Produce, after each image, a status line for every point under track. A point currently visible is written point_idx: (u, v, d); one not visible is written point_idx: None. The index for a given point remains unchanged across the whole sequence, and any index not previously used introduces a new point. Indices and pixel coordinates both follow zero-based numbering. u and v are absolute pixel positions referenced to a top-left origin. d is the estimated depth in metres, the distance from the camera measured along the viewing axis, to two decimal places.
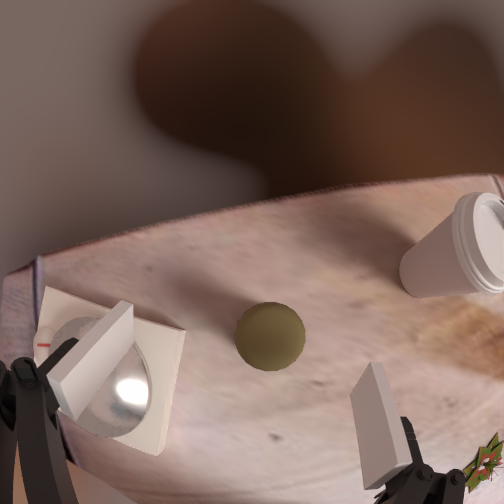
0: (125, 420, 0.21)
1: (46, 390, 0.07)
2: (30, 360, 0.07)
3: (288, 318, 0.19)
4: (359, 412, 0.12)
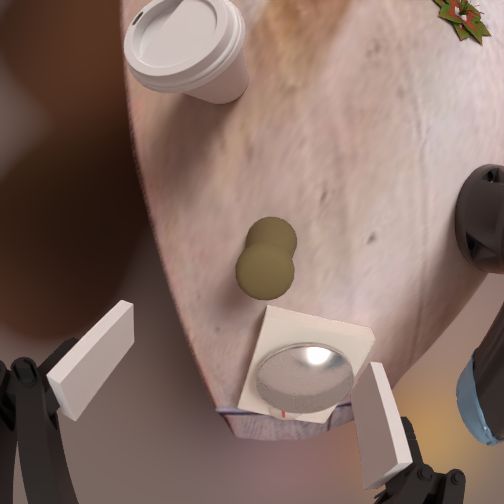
0: (338, 365, 0.31)
1: (46, 390, 0.07)
2: (30, 360, 0.07)
3: (248, 264, 0.23)
4: (359, 412, 0.12)
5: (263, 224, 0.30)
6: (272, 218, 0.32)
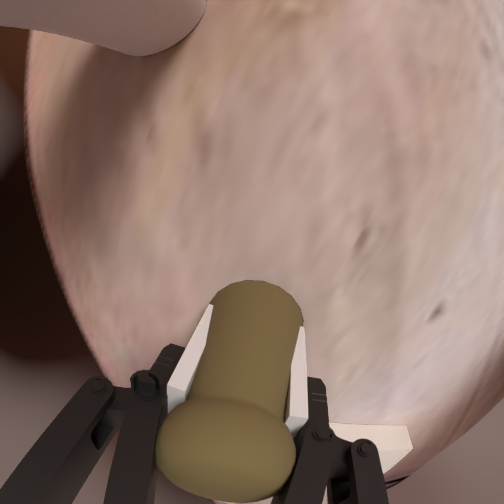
0: None
1: (163, 406, 0.09)
2: (157, 375, 0.09)
3: (173, 467, 0.06)
4: None
5: (233, 305, 0.14)
6: (254, 285, 0.15)
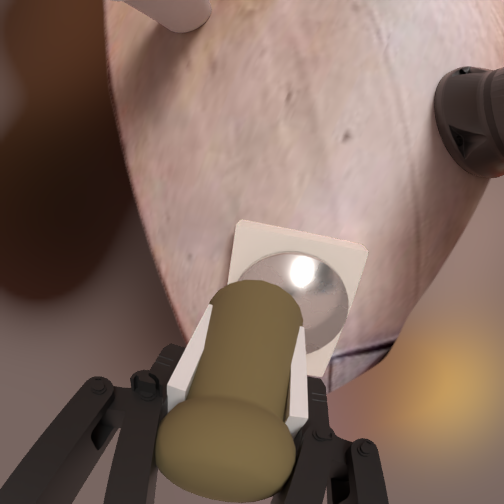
0: (326, 279, 0.28)
1: (163, 406, 0.09)
2: (157, 375, 0.09)
3: (172, 466, 0.06)
4: None
5: (232, 304, 0.14)
6: (253, 285, 0.15)
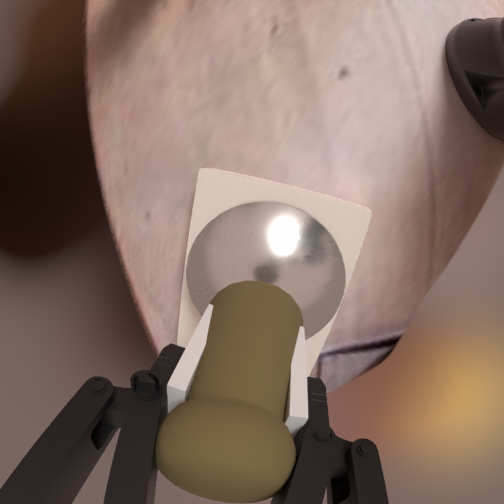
0: (315, 240, 0.20)
1: (163, 406, 0.09)
2: (156, 375, 0.09)
3: (173, 467, 0.06)
4: None
5: (232, 305, 0.14)
6: (254, 285, 0.15)
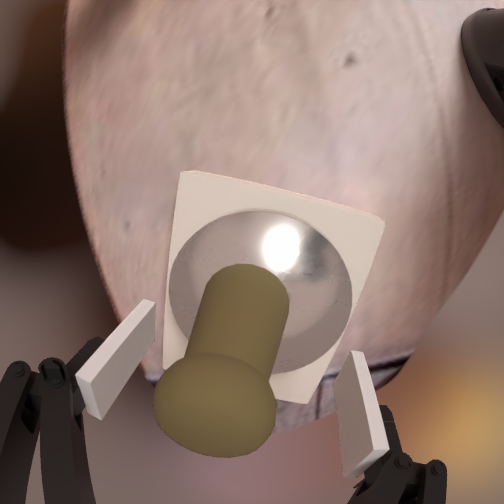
0: (317, 256, 0.17)
1: (74, 391, 0.08)
2: (60, 361, 0.08)
3: (168, 412, 0.08)
4: (340, 400, 0.13)
5: (225, 283, 0.16)
6: (244, 267, 0.17)
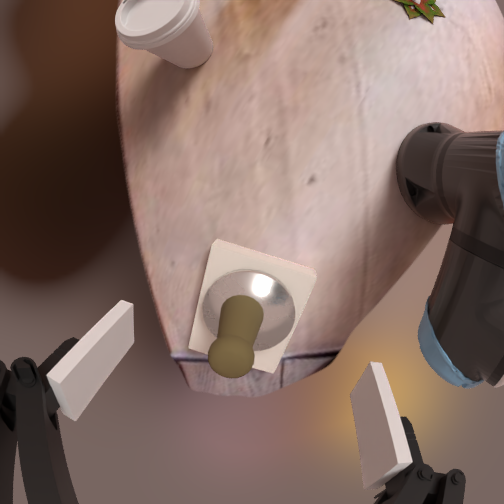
0: (278, 294, 0.36)
1: (46, 390, 0.07)
2: (30, 360, 0.07)
3: (217, 355, 0.27)
4: (359, 412, 0.12)
5: (234, 305, 0.35)
6: (243, 297, 0.36)
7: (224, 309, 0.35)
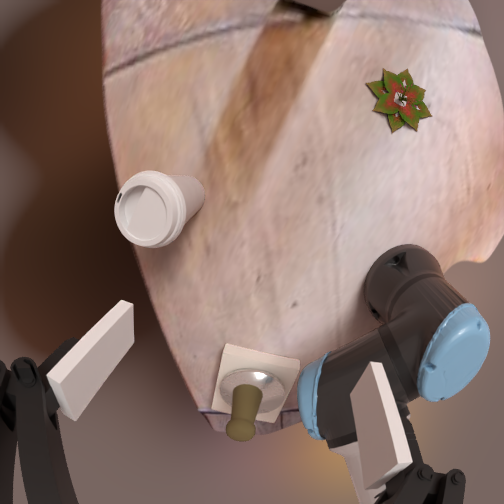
0: (271, 383, 0.48)
1: (46, 390, 0.07)
2: (30, 360, 0.07)
3: (231, 432, 0.39)
4: (359, 412, 0.12)
5: (241, 393, 0.47)
6: (247, 386, 0.48)
7: (235, 395, 0.47)
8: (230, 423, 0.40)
